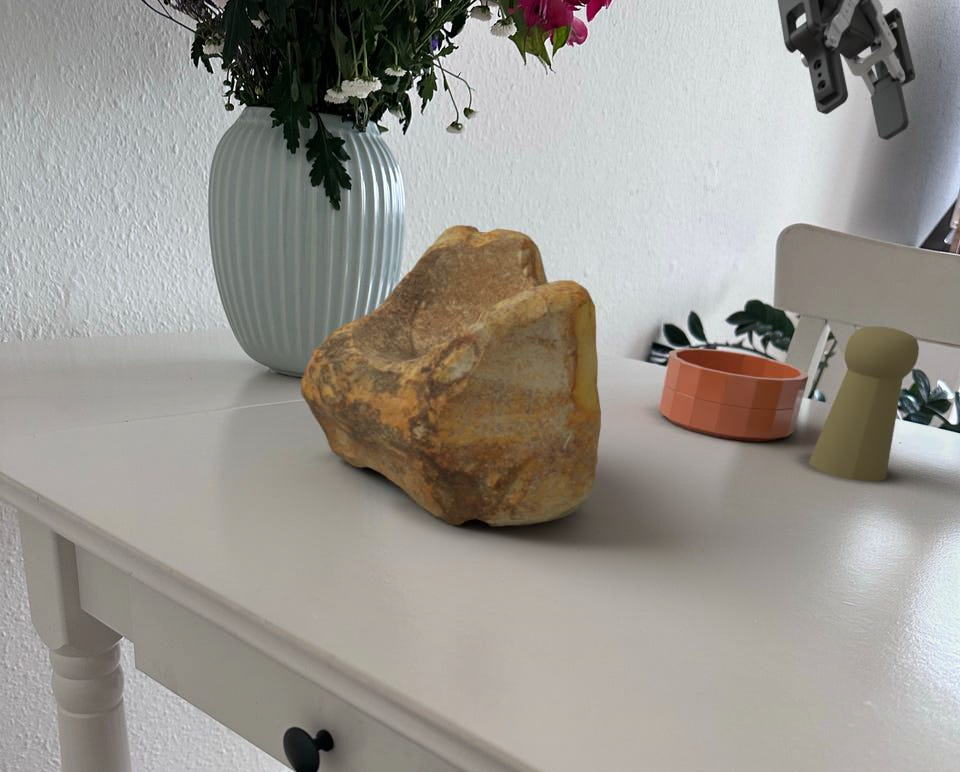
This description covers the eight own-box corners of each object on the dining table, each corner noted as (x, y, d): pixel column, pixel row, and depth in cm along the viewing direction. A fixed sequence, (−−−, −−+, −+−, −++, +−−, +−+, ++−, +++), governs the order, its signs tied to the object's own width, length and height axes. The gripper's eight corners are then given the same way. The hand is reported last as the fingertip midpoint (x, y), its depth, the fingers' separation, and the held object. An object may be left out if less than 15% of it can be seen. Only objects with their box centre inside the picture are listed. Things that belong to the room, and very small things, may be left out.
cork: (817, 454, 80) (855, 318, 76) (891, 472, 78) (936, 332, 73) (799, 468, 76) (839, 324, 71) (878, 488, 73) (924, 340, 68)
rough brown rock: (298, 433, 72) (285, 214, 64) (515, 426, 75) (526, 218, 67) (319, 570, 52) (304, 277, 44) (612, 552, 55) (644, 278, 48)
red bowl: (751, 411, 92) (765, 353, 90) (816, 448, 82) (834, 383, 80) (637, 404, 89) (649, 344, 87) (690, 442, 79) (705, 374, 77)
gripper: (814, -152, 68) (858, 65, 67) (918, -79, 76) (958, 114, 75) (729, -73, 74) (768, 127, 73) (834, -14, 82) (871, 166, 81)
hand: (865, 121), depth 74 cm, fingers open, 8 cm apart
